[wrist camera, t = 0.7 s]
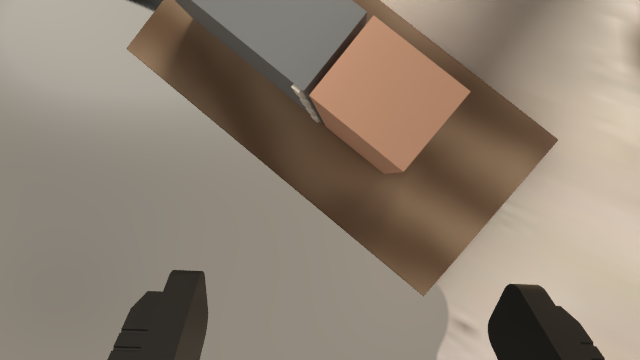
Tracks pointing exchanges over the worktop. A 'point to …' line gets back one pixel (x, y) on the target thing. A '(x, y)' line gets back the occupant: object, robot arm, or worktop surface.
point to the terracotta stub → (386, 98)
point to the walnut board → (344, 162)
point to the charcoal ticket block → (284, 37)
